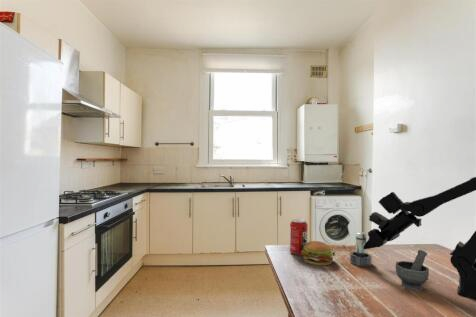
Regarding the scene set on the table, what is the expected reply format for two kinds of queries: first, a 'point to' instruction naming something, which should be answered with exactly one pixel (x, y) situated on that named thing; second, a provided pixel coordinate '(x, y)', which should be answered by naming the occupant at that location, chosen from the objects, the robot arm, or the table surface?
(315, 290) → the table surface
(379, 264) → the table surface
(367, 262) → the collar ring
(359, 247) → the tube
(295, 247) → the soda can
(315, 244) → the food
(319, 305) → the table surface
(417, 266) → the mortar and pestle
